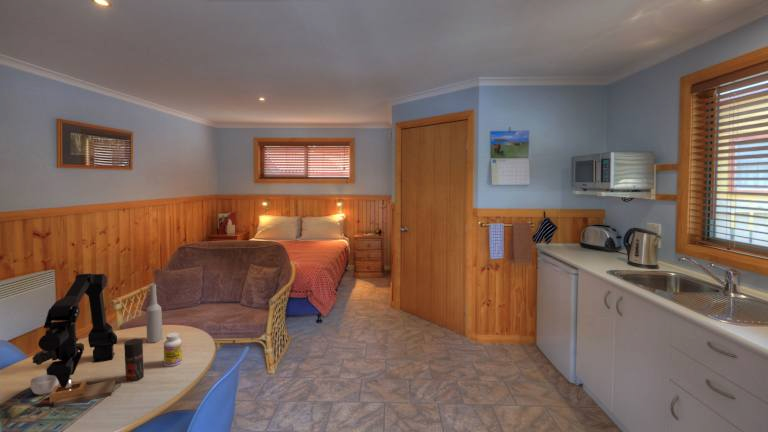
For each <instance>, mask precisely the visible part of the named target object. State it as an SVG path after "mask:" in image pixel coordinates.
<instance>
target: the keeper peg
mask: <svg viewBox="0 0 768 432" xmlns="http://www.w3.org/2000/svg"><path fill="white" fill-rule="evenodd" d="M72 383H73V379H72V377H70V378H69V380H68V383H67V385H66V387H65V390H70V389H72Z"/></svg>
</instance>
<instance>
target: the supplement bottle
mask: <svg viewBox="0 0 768 432" xmlns="http://www.w3.org/2000/svg"><path fill="white" fill-rule="evenodd" d="M179 336H180V334H179V332H170V333H168V334H166V337H165V338H166V340H165V341H164V343H163V361H164V363H163V364H164V366H165V367H169V368H170V367H176V366H178V365H180V364H181V363H182V361H183V352H182V349H183V347H182V342H183V341H182V339H181V338H180V337H179Z"/></svg>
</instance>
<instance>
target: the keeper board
mask: <svg viewBox="0 0 768 432" xmlns="http://www.w3.org/2000/svg"><path fill="white" fill-rule="evenodd" d="M116 380H117V379H112V380H107V381H101V382H97V383H92V384H87V388H86V390H85V392H84V394H83V395H81V396H76V397H71V398H66V399H61V400H56V401H53V408H56V407H62V406H66V405H71V404H77V403H81V402H86V401H92V400H95V399H101V398H105V397H111V396H112V395H113V392H114V389H115V387H116V383H117V382H116Z"/></svg>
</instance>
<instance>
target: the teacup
mask: <svg viewBox="0 0 768 432" xmlns="http://www.w3.org/2000/svg"><path fill="white" fill-rule="evenodd" d="M29 383H30V389H31V391H32V393H34V394H35V395H39V396H40V395H41V396H42V395H46V394H50V393H51V392H52V390H53V389H54V387H55V386H59V385H60V383H59V381H58V379H57V378H56V376H53V375H47V372H46V373H42V374H39V375H37V376H35V377H32V378H31V379H30V382H29Z"/></svg>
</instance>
